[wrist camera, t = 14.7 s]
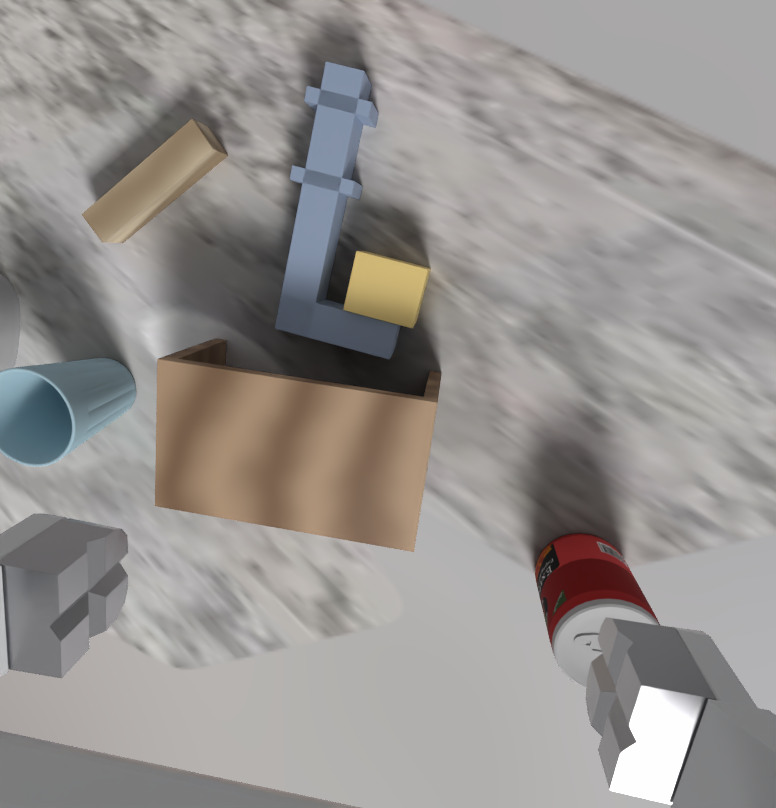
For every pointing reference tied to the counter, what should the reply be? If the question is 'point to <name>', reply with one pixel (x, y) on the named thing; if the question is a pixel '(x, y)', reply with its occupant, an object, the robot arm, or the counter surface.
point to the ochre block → (386, 288)
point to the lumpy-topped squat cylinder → (8, 324)
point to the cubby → (291, 449)
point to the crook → (329, 218)
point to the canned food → (585, 598)
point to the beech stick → (155, 183)
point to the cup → (59, 407)
